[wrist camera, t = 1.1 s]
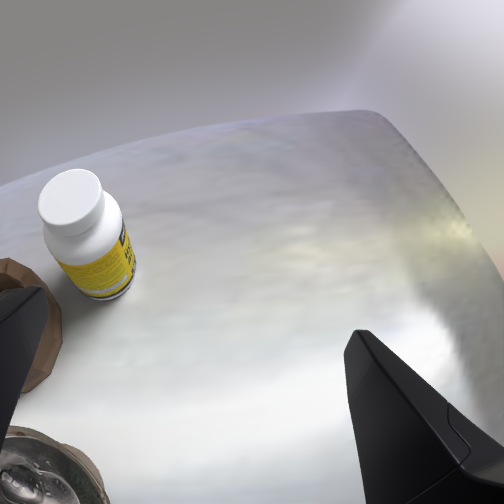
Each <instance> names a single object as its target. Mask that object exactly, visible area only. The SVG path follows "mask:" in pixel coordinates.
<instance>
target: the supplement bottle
mask: <svg viewBox="0 0 504 504" xmlns="http://www.w3.org/2000/svg"><path fill="white" fill-rule="evenodd" d="M38 212H39V215H40V217H41V219H42V220H43V222H44V240H45V243H46V245H47V248H48V249H49V251H50V253H51V254H52V255H53V257H54V258H55V259H56V261H57V262H58V264H59V265H60V266H61V267H62V269H63V270H64V271H65V273H66V274H67V275H68V276H69V278H70V279H71V280H72V282H73V283H74V284H75V285H76V286H77V288H78V289H79V290H80V291H81V292H82V293H83V294H84V295H86V296H87V297H89V298H92V299H94V300H110V299H113V298H116V297H118V296H119V295H121V294H122V293H124V292H125V291H126V290H127V289H128V288H129V286H130V285H131V284H132V282H133V280H134V277H135V274H136V259H135V255H134V252H133V249H132V246H131V243H130V240H129V237H128V234H127V231H126V228H125V224H124V221H123V218H122V214H121V211H120V209H119V206H118V204H117V203H116V201H115V200H114V199H113V197H112V196H110V195H109V194H108V193H106V192H105V191H103V190H102V187H101V184H100V181H99V180H98V178H97V177H96V176H95V175H94V174H93V173H92V172H90V171H87V170H84V169H72V170H68V171H65V172H62V173H60V174H59V175H57V176H55V177H54V178H53V179H51V180H50V181H49V182H48V183H47V184H46V186H45V187H44V188H43V190H42V192H41V194H40V196H39V199H38Z"/></svg>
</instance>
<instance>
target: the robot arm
mask: <svg viewBox="0 0 504 504" xmlns="http://www.w3.org/2000/svg"><path fill="white" fill-rule="evenodd" d="M49 312H50V311H49V305H48V301H47V297H46V292H45V289H44V288H43V287H41V286H37V285H30V286H28V287H26V288H24V289H22V290H20V291H18V292H16V293H14V294H12V295H10V296H8V297H6V298H4V299H2V300H0V454H1V450H2V447H3V444H4V440H5V437H6V434H7V431H8V428H9V425H10V422H11V419H12V416H13V413H14V410H15V407H16V404H17V402H18V399H19V396H20V394H21V391H22V388H23V386H24V383H25V381H26V378H27V376H28V373H29V371H30V369H31V366H32V364H33V361H34V359H35V356H36V353H37V350H38V347H39V344H40V341H41V338H42V335H43V332H44V329H45V326H46V323H47V321H48V318H49ZM344 364H345V374H346V385H347V396H348V403H349V409H350V414H351V419H352V424H353V429H354V434H355V440H356V445H357V451H358V456H359V462H360V468H361V474H362V480H363V486H364V493H365V499H366V504H504V447H503V446H502V445H500V444H499V443H498V442H496V441H495V440H494V439H493V438H491V437H490V436H489V435H487V434H486V433H485V432H484V431H482V430H481V429H480V428H478V427H477V426H476V425H475V424H473V423H472V422H471V421H470V420H468V419H467V418H466V417H465V416H464V415H463V414H462V413H460V412H459V411H458V410H457V409H456V408H455V407H454V406H453V405H452V404H450V403H449V402H448V401H447V400H446V399H445V398H444V397H443V396H442V395H440V394H439V393H438V392H437V391H436V390H435V389H434V388H433V387H432V386H431V385H429V384H428V383H427V382H426V381H425V380H424V379H423V378H422V377H421V376H419V375H418V374H417V373H416V372H415V371H414V370H413V369H412V368H410V367H409V366H408V365H407V364H406V363H405V362H404V361H403V360H402V359H400V358H399V357H398V356H397V355H396V354H395V353H394V352H393V351H391V350H390V349H389V348H388V347H387V346H386V345H385V344H383V343H382V342H381V341H380V340H379V339H378V338H377V337H376V336H374V335H373V334H372V333H371V332H370V331H368V330H355V331H354V332H353V333H352V336H351V338H350V340H349V342H348V344H347V346H346V348H345V351H344Z"/></svg>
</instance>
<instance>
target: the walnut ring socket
mask: <svg viewBox="0 0 504 504" xmlns="http://www.w3.org/2000/svg"><path fill="white" fill-rule="evenodd" d="M30 285H37V286H41V287H43V288H44V289H45V292H46V297H47V301H48V305H49V311H50V312H49V318H48V321H47V323H46V326H45V329H44V332H43V335H42V338H41V341H40V344H39V347H38V350H37V353H36V356H35V359H34V361H33V364H32V366H31V369H30V371H29V373H28V376H27V378H26V381H25V383H24V386H23V388H22V391H21V392H29V391H30V390H32V389H33V388H34V387H35V386H36V385H38V384H39V383H40V382H41V381H43V380H44V379H45V378H46V377H47V376H49V375H50V374H51V372H52V369H53V366H54V364H55V361H56V358H57V356H58V353H59V350H60V348H61V345H62V343H63V342H62V328H61V310H60V308H59V306H58V304H57V303H56V301H55V299H54V298H53V296H52V294H51V292H50V291H49V289H48V287H47V285H46V284H45V283H44V282H43V281H42V280H41V279H40V278H39V277H38V276H37V275H36V274H35V273H34V272H33V271H32V270H31V269H30V268H28V267H26V266H24V265H22V264H20V263H18V262H16V261H14V260H12V259H10V258H5V259H0V292H1V291H2V290H4V289H10V288H17V287H22V288H26V287H28V286H30Z"/></svg>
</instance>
